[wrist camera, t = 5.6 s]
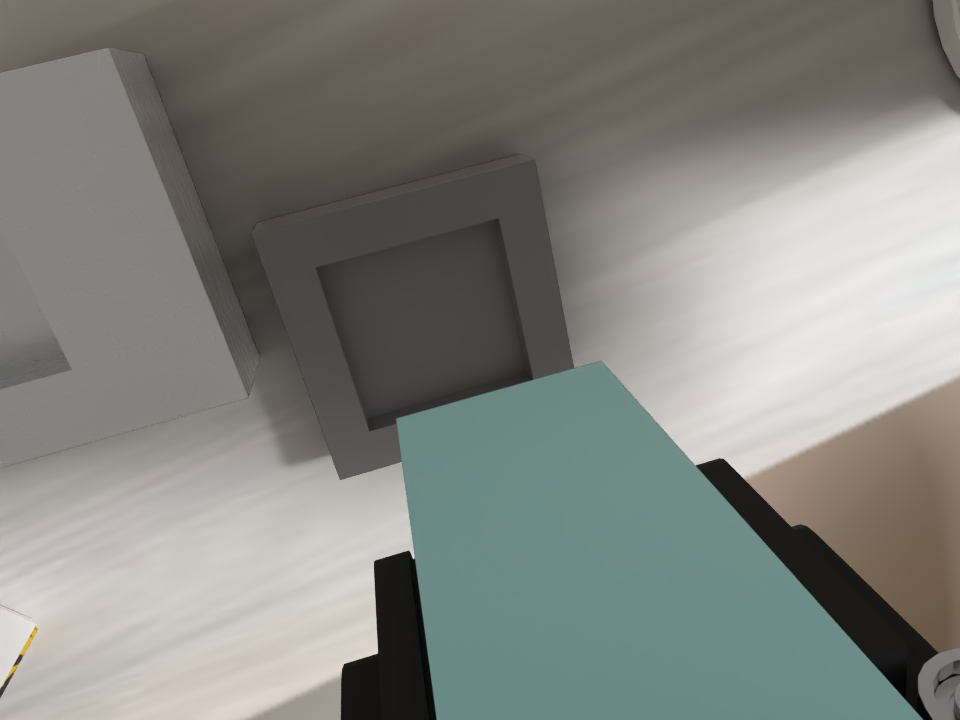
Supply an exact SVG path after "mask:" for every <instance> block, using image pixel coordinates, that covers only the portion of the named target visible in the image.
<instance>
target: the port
mask: <svg viewBox="0 0 960 720" xmlns="http://www.w3.org/2000/svg"><path fill="white" fill-rule="evenodd" d="M259 359H260V356H259V354H258V351H257V349H256V346H255V343H254V341H253V338H252V335H251V333H250V330H249V328H248V325H247V322H246V320H245V317H244V315H243V312H242V309H241V307H240V304H239V302H238V299H237V296H236V294H235V291H234V289H233V286H232V283H231V281H230V278H229V276H228V273H227V270H226V268H225V265H224V262H223V260H222V257H221V255H220V252H219V249H218V247H217V244H216V242H215V239H214V236H213V234H212V231H211V229H210V226H209V223H208V221H207V218H206V216H205V213H204V210H203V208H202V205H201V202H200V200H199V197H198V195H197V192H196V189H195V187H194V184H193V182H192V179H191V176H190V174H189V171H188V169H187V166H186V163H185V161H184V158H183V156H182V153H181V150H180V148H179V145H178V143H177V140H176V137H175V135H174V132H173V129H172V127H171V124H170V122H169V119H168V116H167V114H166V111H165V109H164V106H163V103H162V101H161V98H160V96H159V93H158V90H157V88H156V85H155V83H154V80H153V77H152V75H151V72H150V70H149V67H148V64H147V62H146V59H145V56H144V54H140V53H135V52H130V51H124V50H119V49H113V48H104V49H100V50H95V51H91V52H87V53H82V54H78V55H74V56H70V57H65V58H61V59H57V60H52V61H48V62H44V63H40V64H35V65H31V66H27V67H22V68H18V69H14V70H9V71H5V72H1V73H0V468H3V467H6V466H10V465H13V464H17V463H20V462H24V461H27V460H31V459H34V458H38V457H41V456H45V455H48V454H52V453H56V452H59V451H63V450H66V449H70V448H73V447H77V446H80V445H84V444H87V443H91V442H94V441H98V440H101V439H105V438H108V437H112V436H116V435H119V434H123V433H126V432H130V431H133V430H137V429H140V428H144V427H147V426H151V425H154V424H158V423H161V422H165V421H168V420H172V419H176V418H179V417H183V416H186V415H190V414H193V413H197V412H200V411H204V410H207V409H211V408H214V407H218V406H221V405H225V404H228V403H232V402H236V401H239V400H243V399H246V398H249V394H250V391H251V387H252V384H253V380H254V377H255V373H256V370H257V366H258V363H259Z"/></svg>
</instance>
